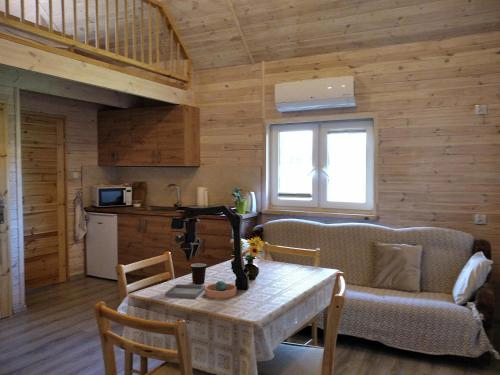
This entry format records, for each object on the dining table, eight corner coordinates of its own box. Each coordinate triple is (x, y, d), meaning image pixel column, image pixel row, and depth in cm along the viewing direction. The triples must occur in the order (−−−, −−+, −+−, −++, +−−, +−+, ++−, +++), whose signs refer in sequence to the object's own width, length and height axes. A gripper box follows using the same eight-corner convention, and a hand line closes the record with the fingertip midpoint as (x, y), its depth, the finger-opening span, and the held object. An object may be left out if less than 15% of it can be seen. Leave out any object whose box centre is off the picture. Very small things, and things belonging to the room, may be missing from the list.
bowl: (238, 290, 224) (238, 283, 224) (232, 299, 208) (232, 292, 208) (209, 289, 226) (209, 282, 226) (201, 297, 211) (201, 290, 211)
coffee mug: (203, 285, 233) (203, 267, 233) (188, 284, 235) (188, 266, 235) (209, 280, 245) (209, 262, 244) (195, 279, 247) (195, 262, 246)
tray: (205, 289, 226) (205, 285, 226) (196, 298, 210) (196, 294, 210) (176, 287, 229) (176, 284, 229) (165, 296, 213) (165, 292, 213)
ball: (227, 291, 220) (227, 279, 220) (225, 294, 214) (225, 282, 214) (216, 290, 221) (216, 279, 221) (213, 294, 215) (213, 282, 215)
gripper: (182, 227, 242) (182, 255, 243) (170, 232, 224) (170, 262, 224) (201, 228, 240) (201, 255, 241) (191, 232, 222) (191, 262, 222)
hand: (190, 258), depth 232 cm, fingers open, 9 cm apart
